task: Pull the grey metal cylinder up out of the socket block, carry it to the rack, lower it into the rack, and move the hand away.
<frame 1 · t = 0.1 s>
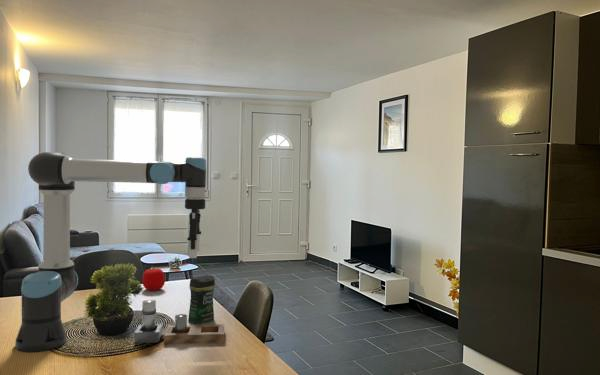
hand: (194, 254, 179), 28 cm above the table, fingers open, 13 cm apart
coffee jar: (201, 323, 185), on the table
rack: (195, 340, 166), on the table
tomato: (153, 290, 231), on the table
grey metal cylinder: (148, 338, 165), point 1 cm above the table, touching socket block
socket block: (148, 340, 165), on the table
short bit: (180, 338, 165), resting on rack
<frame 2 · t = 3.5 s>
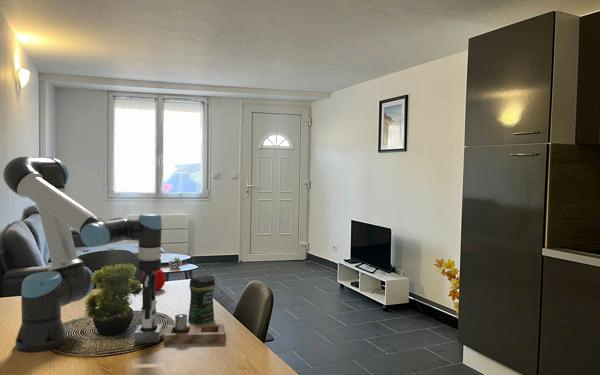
hand: (148, 324, 165), 6 cm above the table, fingers closed on grey metal cylinder, 5 cm apart
grey metal cylinder: (148, 338, 165), point 1 cm above the table, touching gripper, socket block
everything else where it was.
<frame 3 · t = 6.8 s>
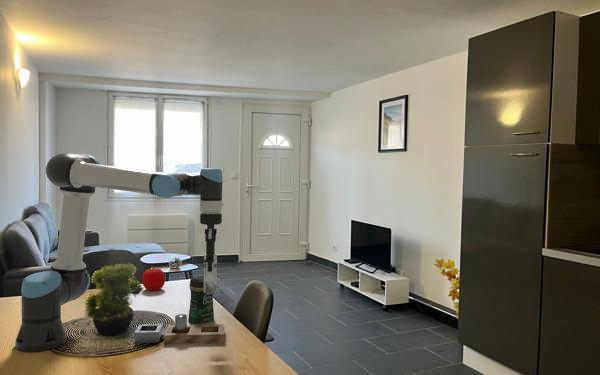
hand: (210, 278, 166), 22 cm above the table, fingers closed on grey metal cylinder, 5 cm apart
grey metal cylinder: (210, 291, 166), point 17 cm above the table, touching gripper
everything else where it was.
when the fingers open (7 cm above the table, at t = 10.3 s): grey metal cylinder drops 1 cm, resting on rack.
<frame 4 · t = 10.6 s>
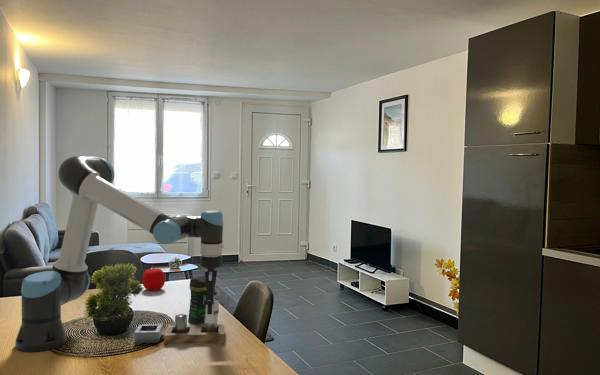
hand: (210, 317, 167), 8 cm above the table, fingers open, 9 cm apart
grey metal cylinder: (209, 337, 167), point 1 cm above the table, touching rack
everything else where it was.
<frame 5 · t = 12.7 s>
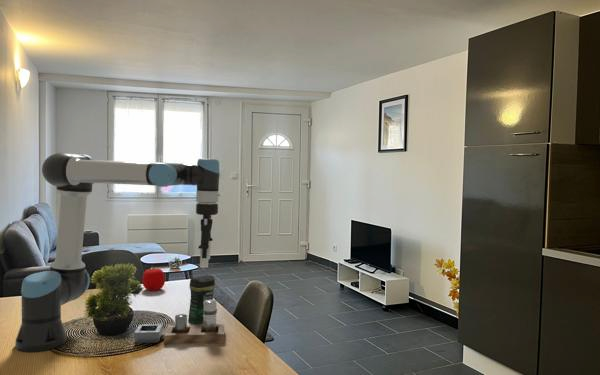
hand: (205, 263, 166), 27 cm above the table, fingers open, 13 cm apart
nothing on the table moved.
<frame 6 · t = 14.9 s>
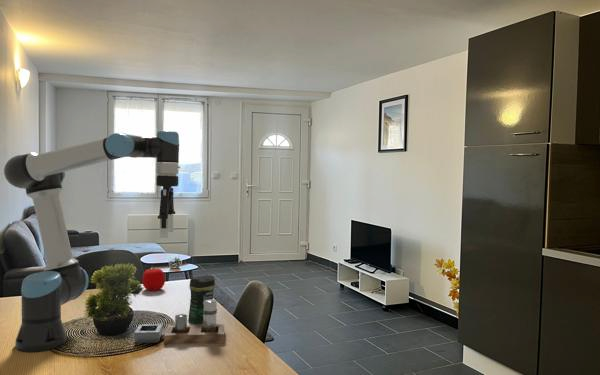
hand: (166, 234, 168), 37 cm above the table, fingers open, 13 cm apart
nothing on the table moved.
at the end: grey metal cylinder 0.0 cm from the target spot on the rack, point 1.0 cm above the rack's base; grey metal cylinder tilted 1°; the gripper is holding nothing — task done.
